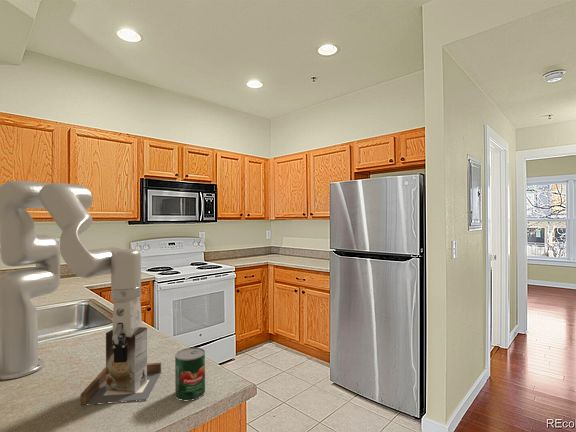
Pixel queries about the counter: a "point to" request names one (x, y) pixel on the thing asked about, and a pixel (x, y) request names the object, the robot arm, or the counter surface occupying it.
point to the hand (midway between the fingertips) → (127, 354)
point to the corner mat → (115, 396)
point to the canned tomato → (190, 373)
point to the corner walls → (102, 378)
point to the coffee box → (127, 363)
